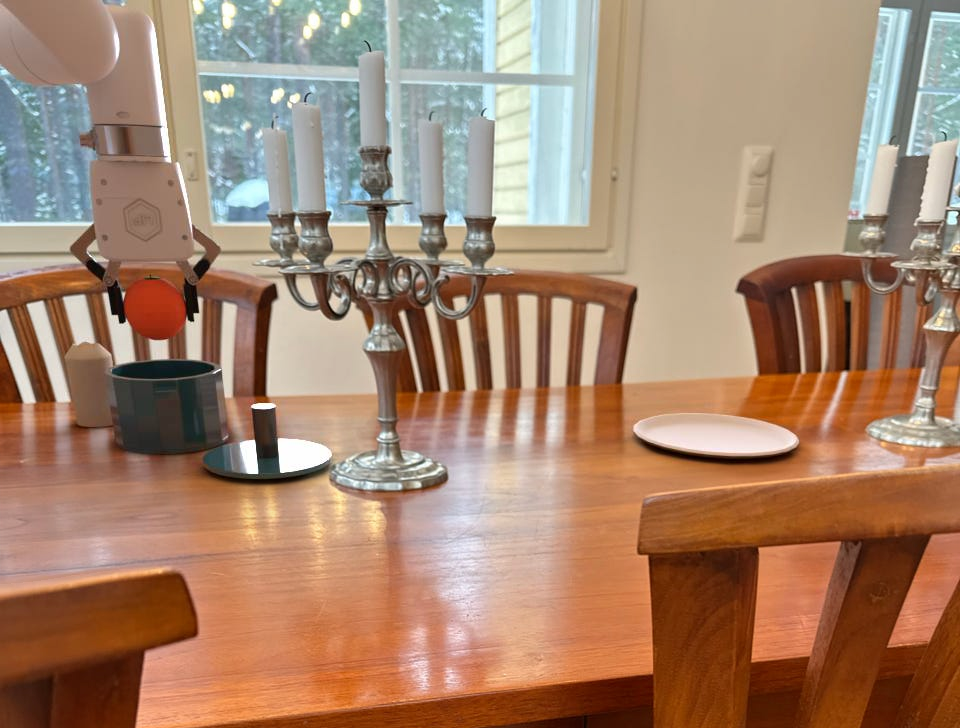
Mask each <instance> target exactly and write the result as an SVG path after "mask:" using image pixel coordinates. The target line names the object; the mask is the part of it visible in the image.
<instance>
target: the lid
mask: <svg viewBox="0 0 960 728" xmlns="http://www.w3.org/2000/svg"><path fill="white" fill-rule="evenodd" d="M276 408H277V407H276V405H275V404H274V403H256V404H253V405H251V416H252V429H253V438H254V439H250V440H249V439H248V440H242V441H236V442H231V443H230V442H229V443H227V444H222V445H219V446H216V447H213V448H211V450H209V451H207V452H205V453H204V455H203V456H202V462H203V463H202V465H203V467H204V468H205V469H206V470H208V471H209V472H212V473H214V474H217V475H220V476H224V477H230V478H235V479H250V480H272V479H273V480H274V479H283V478H292V477H297V476H303V475H307V474H311V473H315V472H316V471H320V470H321V469H323V468H325V467H327V466H328V465H329V464H330V463H332V451H331V450H330V449H329V448H327V447H326V446H324V445H322V444H319V443H315V442H312V441H307V440H301V439H292V438H291V439H289V438H279V433H278V432H279V431H278V430H279V429H278V421H277V409H276Z"/></svg>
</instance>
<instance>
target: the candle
mask: <svg viewBox="0 0 960 728" xmlns="http://www.w3.org/2000/svg"><path fill="white" fill-rule="evenodd" d="M63 357H64V362H65V367H66V373H67V379H68V384H69V389H70V394H71V395H70V396H71V400H72V405H73V410H74V415H75V420H76V424H77V425H78V426H79V427H86V428H102V427H103V428H104V427H111V426H113V423H112V417H111V411H110V405H109V399H108V393H107V387H106V381H105V375H104V373H105V369H107V368H110V367H112V366H114V362H113V357H112V353H111V352H109V351H108V350H107V349H106V348H105V347H103V346H102V345H101V344H100V343H99V342H94V343H91V342H88V341H83V342H81V343H78V344H76V343H74V342H73V343H72V344H71V346H70V348H69V349H68V351H67V352H66V353H65V355H64V356H63Z"/></svg>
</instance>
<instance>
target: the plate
mask: <svg viewBox="0 0 960 728" xmlns="http://www.w3.org/2000/svg"><path fill="white" fill-rule="evenodd" d="M632 433H633V434H634V435H635V436H636V438H638V439H639V440H640V441H643V442H644V443H646V444H648V445H650V446H653V447H657V448H660V449H663V450H666V451H670V452H674V453H678V454H683V455H688V456H693V457H700V458H708V459H721V460H748V459H760V458H771V457H776V456H780V455H785V454H788V453H790V452H792V451H794V450H796V449H797V448H798V447H799V444H800V440H799V438H798V436H797V435H796V434H795V433H793V432H792V431H790V430H789V429H787V428H786V427H785V428H784V427H783V426H779V425H777V424H774V423H771V422H767V421H764V420H759V419H754V418H749V417H743V416H738V415H737V416H736V415H728V414H720V413H719V414H717V413H704V412H703V413H702V412H699V413H697V412H696V413H695V412H694V413H693V412H692V413H691V412H687V413H686V412H681V413H667V414H660V415H654V416H650V417H647V418H644V419H641V420H639V421H637V423H635V424H634V425H633V428H632Z"/></svg>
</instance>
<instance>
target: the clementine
mask: <svg viewBox="0 0 960 728" xmlns="http://www.w3.org/2000/svg"><path fill="white" fill-rule="evenodd" d="M123 306H124V312H125V316H126V322H128V324H129V326H130V327H131V328H132V329H133V330H134V332H136V333H137V334H138V335H141V336H142V337H143V338H145V339H148V340H152V341H167V340H169V339H171V338H174V337H175V336H176V335H178V333H180V332H181V331H182V329H183V328H184V326H185V324H186V321H187V309H186V303H185V297H184V296H183V295H182V292H181V291H180V290H179V289H178V288H177V286H176V285H175V284H173V283H172V282H171V281H169V280H168V279H166V278H163V277H160V276H152V274H149V276H145V277H140V278H138V279H136V280H135V281H133V282H132V283H131V284H129V286H128V288H127V290H126V291H125V293H124V296H123Z"/></svg>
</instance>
